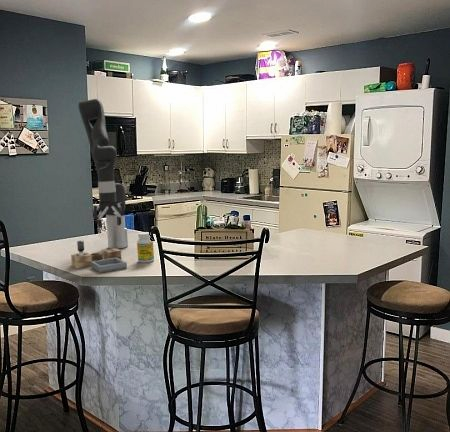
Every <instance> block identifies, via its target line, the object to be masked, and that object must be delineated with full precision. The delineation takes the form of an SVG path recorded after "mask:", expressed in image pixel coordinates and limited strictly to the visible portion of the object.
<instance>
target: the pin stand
mask: <svg viewBox="0 0 450 432" xmlns="http://www.w3.org/2000/svg"><path fill="white" fill-rule="evenodd" d="M90 254H91V255H92V261H98V260H104V255H103V254H102V253H101V252H94V253H90Z"/></svg>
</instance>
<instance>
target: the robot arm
mask: <svg viewBox="0 0 450 432" xmlns="http://www.w3.org/2000/svg"><path fill="white" fill-rule="evenodd" d="M78 110H79V111H78V112H79V115H80V117H81V120H82V123H83V126H84V129H85V132H86V136H87V139H88V143H89V148H90V151H91V155H92V160H93V162H94V165H95V166H94V167H95V168H96V174H97V179H98V181H97V182H98V183H97V187H98V189H97V190H98V201H99V204H98V205H97V204H95V205H92V219H95V220H96V221H97V227H98V228H100V229H102V228H103V220H102V218H103V217H104V215H105V217H106V218H105V219H106V234H107V248H108V249H114V248H117V249H119V250H120V249H124V248H127V247H129V244H128V243H129V241H128V229H127V227H126V219H125V215H126V213H125V210H126V189H125V186H124V185H123V184H122V183H120V182H115V165H116V161H117V154H118V153H117V149H116V147H114V146H113V145H110V139H109V136H108V135H109V134H108V132H107V124H106V116H105V111H104V106H103V103H102V101H101V100H100V98H93V99H88V100H82V101H79V102H78ZM92 120H96V121H95V123H94V125H92V124H91V122H90V121H92ZM99 210H100V211H99ZM98 211H99V213H98Z"/></svg>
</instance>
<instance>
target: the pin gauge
mask: <svg viewBox="0 0 450 432" xmlns="http://www.w3.org/2000/svg"><path fill="white" fill-rule="evenodd" d="M84 241H85V240H77V242H76V245H77V251H78V253H79V256H82V255H84V252H85V242H84Z"/></svg>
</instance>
